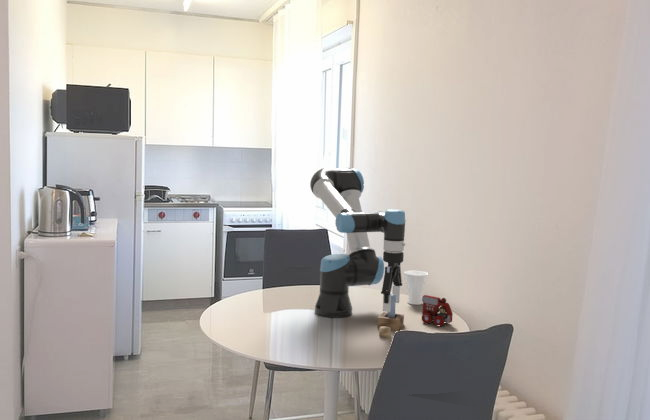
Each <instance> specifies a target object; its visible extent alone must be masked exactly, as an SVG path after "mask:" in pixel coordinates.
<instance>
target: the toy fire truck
mask: <svg viewBox="0 0 650 420" xmlns="http://www.w3.org/2000/svg"><path fill="white" fill-rule="evenodd" d="M453 315H454V314H453V311H452V308H451V306H450V304H449V303H448V302H447V299H446V298H445V297H442V298H440V297H438V296H432V295H427V294H425V295H424V294H423V295H422V315H421V321H422V323H424V324H425V323H429V324H431V323H432V322H433V323H434V325H435V326H436V325H440V327H442V326H443V325H445V323H444V322H447V323H446V324H450V323H452V322H453ZM432 320H434V321H432Z"/></svg>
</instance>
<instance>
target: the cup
mask: <svg viewBox="0 0 650 420" xmlns="http://www.w3.org/2000/svg"><path fill="white" fill-rule="evenodd" d="M403 273H404V277H405V282H406V284H407V304H410V305H414V306H415V305H417V306H419V305H423V302H422V297H423V295H424V294H423V292H424V287H425V284H426V281H427V279H428V276H429V273H428V272H427V271H423V270H415V269H414V270H413V269H412V270H405V271H403Z"/></svg>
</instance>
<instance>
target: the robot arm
mask: <svg viewBox="0 0 650 420" xmlns="http://www.w3.org/2000/svg"><path fill="white" fill-rule="evenodd" d="M309 184H310V191H311V192H312V194H313V195H314V196H315V197H316V198H317V199H320V200H321V201H322V203H323V204H324V205H325V206H326V207H327V209H328V210H329V211H330V212H331V214H332V215H333V216H334V218H335V222H334V223H335V227H336V230H337V231H338V232H339V233H342V234H343V233H344V234H346V236H347V237H346V238H347V242H348V247H349V250H350V251H349V254H347V253H346V254H345V253H334V254H329V255H326V256H324V257H322V259H321V260H320V267H319V295H318V298H317V300H316V303H315V306H314V312H315V314H316V315H319V316H321V317H326V318H342V317H343V318H345V317H349V316H351V315H352V314H353V305H352V302H351V299H350V295H349V287H356V286H357V287H361V286H372V285H377V284H379V283H380V282H381V281H382V279H383V282H382V288H381V291H380V294H381V295H382V311H383V312H387V313H388V312H390V308H391V294H393V295H396V303H395V304H400V300H401V299H400V295H401V287H402V286H403V283H402V281H403V280H402V271H401V264H402V263H403V262H404V256H405V254H404V252H403V251H404V248H405V246H406V243H405V233H406V232H405V230H406V229H405V228H406V213H405V211H404V210H402V209H386V210H385V211H380V210H379V211H373V212H363V210H362V205H361V201H360V198H361V196H362V193H363V192H364V188H365V185H364V184H365V180H364V176H363V175H362V173H361V171H360V170H359V169H357V168H351V167H345V168H342V167H341V168H339V167H338V168H337V167H324V168H321V169H319V170H317V171H316V172H314V174H313V175H312V177H311V179H310V183H309ZM368 233H384V234H383V254H382V255H383V257H381V256H379V255H377V254H376V253H377V252H376V250H375V249H374V248H372V247H371V245H370V244H371V243H370V240H369V236H368ZM385 263H387V266H385ZM391 291H392V293H391Z"/></svg>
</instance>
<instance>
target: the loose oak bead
mask: <svg viewBox="0 0 650 420" xmlns="http://www.w3.org/2000/svg"><path fill="white" fill-rule="evenodd" d="M378 329H379V333H378V334H379V335H378V336H379V338H383V339H388V338H389V339H390V338H391V332H392V330H391V328H390V327H387V326H382V327H380V328H378Z"/></svg>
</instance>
